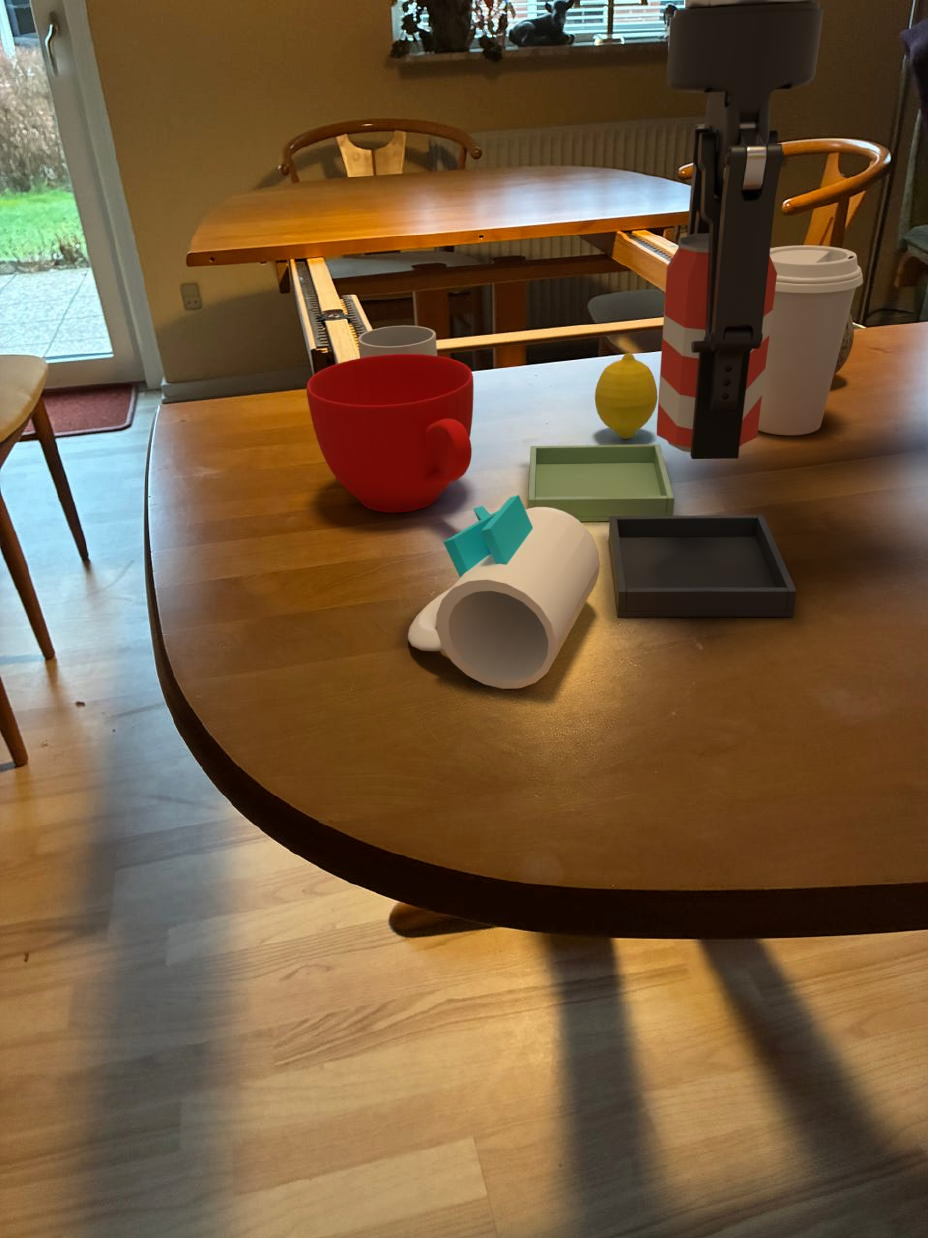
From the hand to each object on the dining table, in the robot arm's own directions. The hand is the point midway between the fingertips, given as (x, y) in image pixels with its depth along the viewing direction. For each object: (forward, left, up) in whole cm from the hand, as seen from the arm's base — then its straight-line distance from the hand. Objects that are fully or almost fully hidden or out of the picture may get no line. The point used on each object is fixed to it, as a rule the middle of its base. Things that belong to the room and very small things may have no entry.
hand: (705, 434), depth 60 cm
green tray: (+6, -14, -10) cm, 18 cm away
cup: (+24, -28, -10) cm, 38 cm away
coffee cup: (-12, -29, -10) cm, 33 cm away
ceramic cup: (+21, -12, -10) cm, 26 cm away
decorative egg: (-17, -41, -10) cm, 46 cm away
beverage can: (0, 0, -1) cm, 1 cm away
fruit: (+3, -26, -10) cm, 28 cm away
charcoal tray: (0, 0, -10) cm, 10 cm away
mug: (+13, +7, -10) cm, 18 cm away
